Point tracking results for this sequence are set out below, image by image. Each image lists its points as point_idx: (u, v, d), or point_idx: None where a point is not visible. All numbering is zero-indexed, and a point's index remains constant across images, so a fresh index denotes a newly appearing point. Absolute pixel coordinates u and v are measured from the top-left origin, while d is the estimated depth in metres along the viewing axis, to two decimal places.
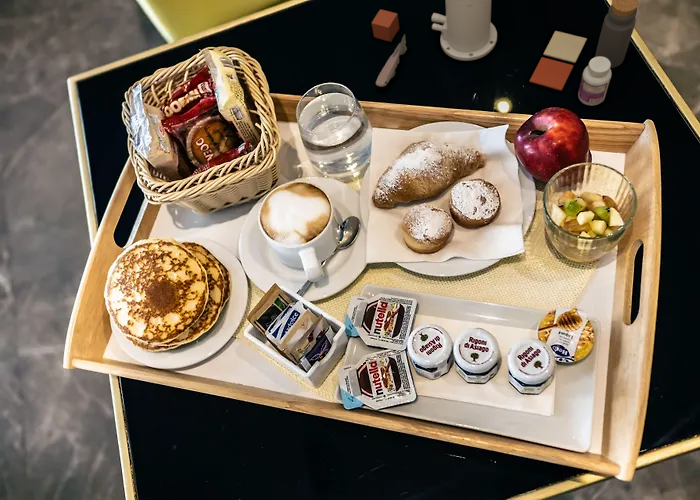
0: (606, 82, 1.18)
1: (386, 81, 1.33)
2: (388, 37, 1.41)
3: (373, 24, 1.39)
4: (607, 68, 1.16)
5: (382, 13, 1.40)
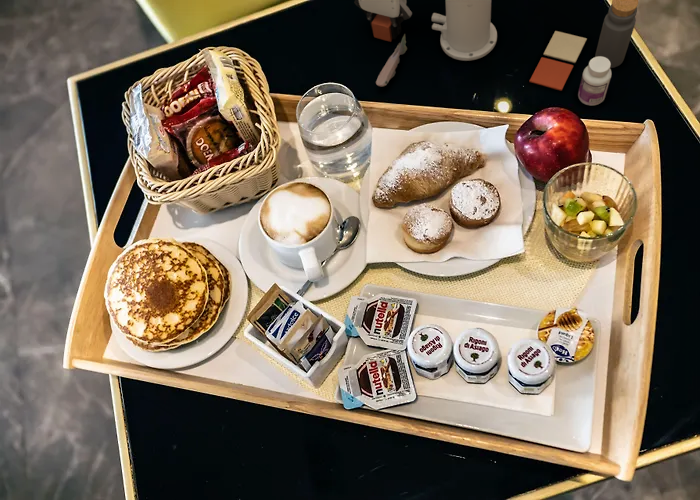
0: (606, 82, 1.18)
1: (386, 81, 1.33)
2: (388, 37, 1.41)
3: (373, 24, 1.39)
4: (607, 68, 1.16)
5: None
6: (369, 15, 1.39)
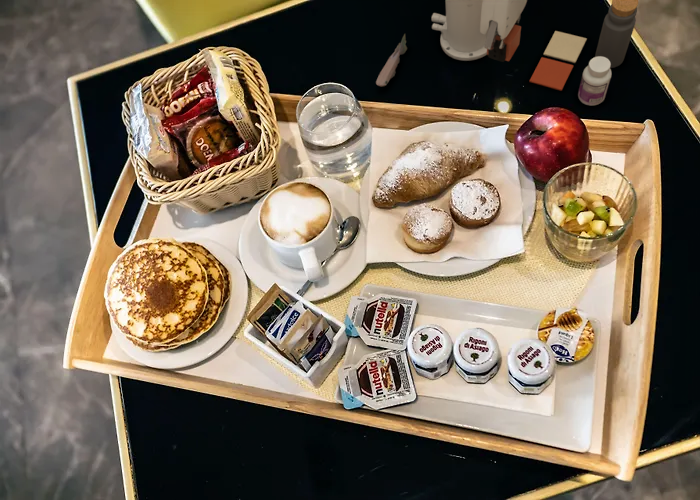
0: (606, 82, 1.18)
1: (386, 81, 1.33)
2: (518, 41, 1.12)
3: (511, 44, 1.09)
4: (607, 68, 1.16)
5: None
6: (504, 41, 1.07)
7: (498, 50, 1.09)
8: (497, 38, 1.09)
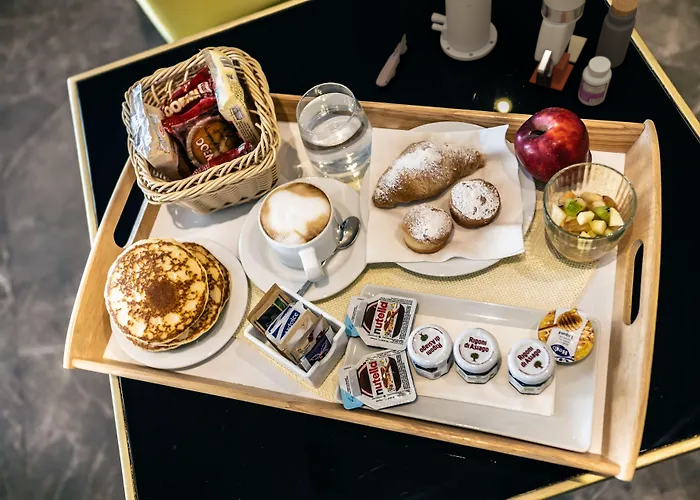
0: (606, 82, 1.18)
1: (386, 81, 1.33)
2: (567, 66, 1.28)
3: (563, 69, 1.24)
4: (607, 68, 1.16)
5: None
6: (552, 69, 1.21)
7: (546, 78, 1.23)
8: (550, 64, 1.25)
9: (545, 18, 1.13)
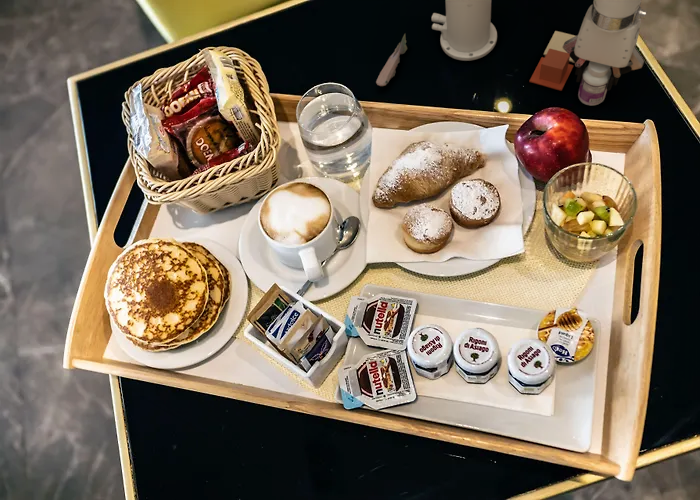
0: (606, 82, 1.18)
1: (386, 80, 1.33)
2: (567, 66, 1.28)
3: (563, 69, 1.24)
4: (607, 68, 1.16)
5: (547, 61, 1.25)
6: (580, 62, 1.17)
7: None
8: (550, 64, 1.25)
9: None
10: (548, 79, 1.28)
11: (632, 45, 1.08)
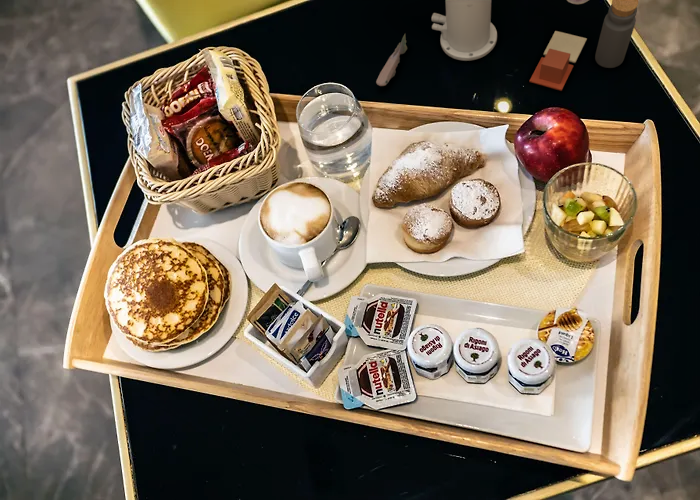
0: None
1: (386, 80, 1.33)
2: (567, 66, 1.28)
3: (563, 69, 1.24)
4: None
5: (547, 61, 1.25)
6: None
7: None
8: (550, 64, 1.25)
9: None
10: (548, 79, 1.28)
11: None
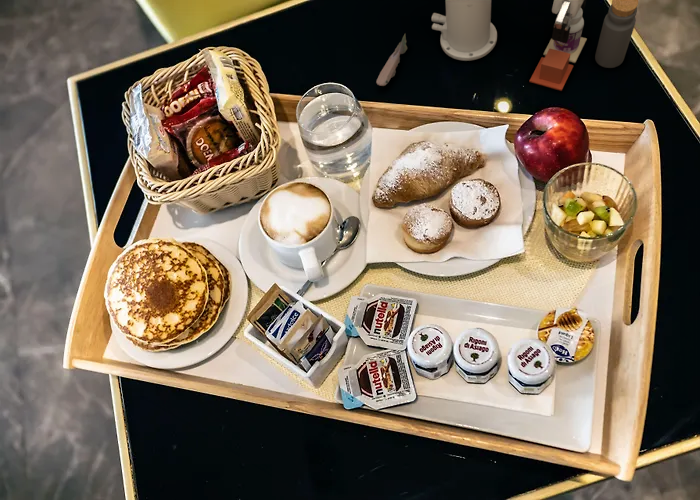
0: None
1: (387, 80, 1.33)
2: (567, 66, 1.28)
3: (563, 69, 1.24)
4: None
5: (547, 61, 1.25)
6: (570, 22, 1.19)
7: (563, 32, 1.21)
8: (550, 64, 1.25)
9: None
10: (548, 79, 1.28)
11: None
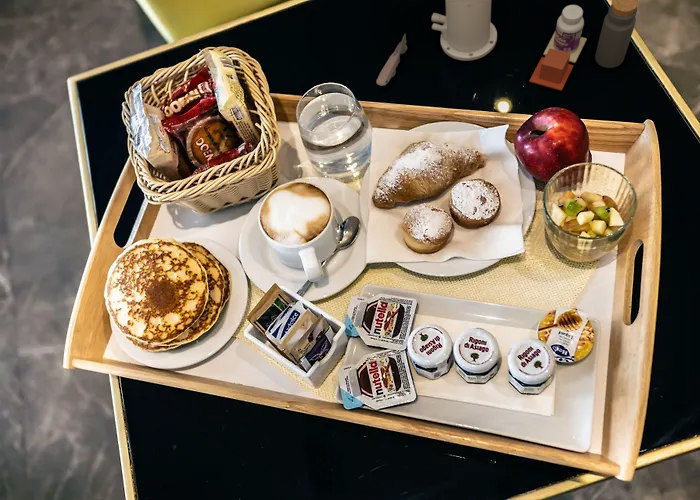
0: None
1: (387, 80, 1.33)
2: (567, 66, 1.28)
3: (563, 69, 1.24)
4: (578, 6, 1.23)
5: (547, 61, 1.25)
6: None
7: None
8: (550, 64, 1.25)
9: None
10: (548, 79, 1.28)
11: None
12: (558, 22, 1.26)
